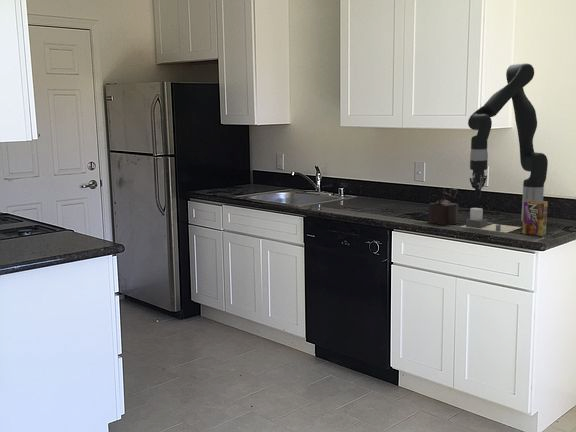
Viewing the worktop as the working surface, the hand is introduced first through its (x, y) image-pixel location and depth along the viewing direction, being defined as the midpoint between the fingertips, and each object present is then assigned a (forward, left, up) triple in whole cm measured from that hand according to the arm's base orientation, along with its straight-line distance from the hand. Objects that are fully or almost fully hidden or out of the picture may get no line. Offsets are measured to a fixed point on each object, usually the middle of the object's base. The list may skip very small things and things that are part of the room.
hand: (477, 197), depth 295 cm
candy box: (+1, +27, -15) cm, 31 cm away
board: (-2, +6, -14) cm, 16 cm away
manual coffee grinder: (-2, -16, -15) cm, 22 cm away
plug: (0, 0, -13) cm, 13 cm away
